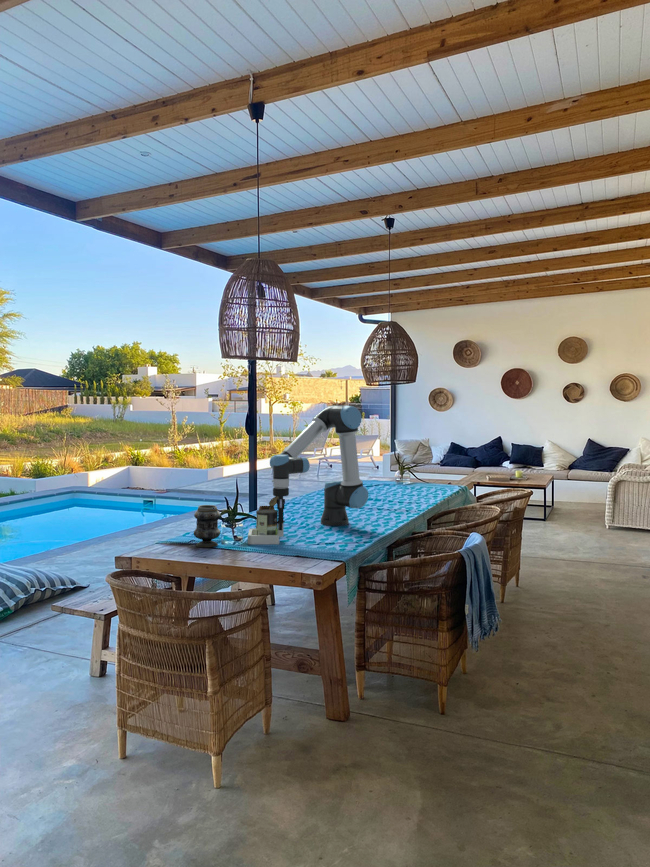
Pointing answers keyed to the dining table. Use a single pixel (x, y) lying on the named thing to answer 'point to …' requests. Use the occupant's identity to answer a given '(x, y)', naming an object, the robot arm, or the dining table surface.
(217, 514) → the stone vase
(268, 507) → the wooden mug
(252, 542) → the tray
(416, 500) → the dining table surface
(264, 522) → the coffee can
